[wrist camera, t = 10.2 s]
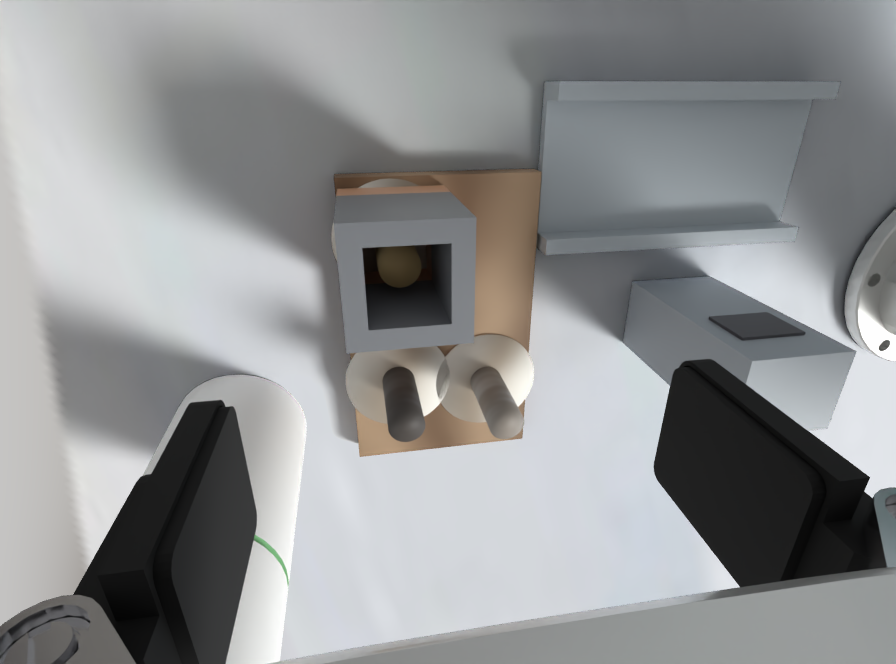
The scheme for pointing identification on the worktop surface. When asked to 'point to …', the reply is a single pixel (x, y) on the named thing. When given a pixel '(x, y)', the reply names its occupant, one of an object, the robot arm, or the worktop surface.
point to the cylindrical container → (261, 503)
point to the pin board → (495, 325)
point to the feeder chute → (669, 162)
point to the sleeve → (438, 286)
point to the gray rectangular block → (738, 344)
